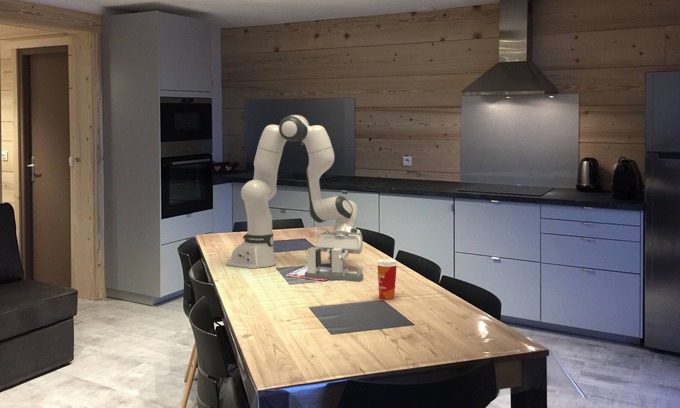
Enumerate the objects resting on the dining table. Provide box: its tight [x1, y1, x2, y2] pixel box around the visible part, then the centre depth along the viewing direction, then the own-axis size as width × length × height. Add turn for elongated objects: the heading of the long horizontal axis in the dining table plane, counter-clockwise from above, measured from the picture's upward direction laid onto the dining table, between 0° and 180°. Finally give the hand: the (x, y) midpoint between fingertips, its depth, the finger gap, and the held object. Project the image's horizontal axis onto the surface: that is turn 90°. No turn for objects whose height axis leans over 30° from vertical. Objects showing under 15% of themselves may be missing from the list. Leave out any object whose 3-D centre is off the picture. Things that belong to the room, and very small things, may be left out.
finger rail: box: [304, 246, 364, 282], centre depth 278 cm, size 24×5×12 cm, turn 73°
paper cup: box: [376, 258, 398, 301], centre depth 247 cm, size 8×8×14 cm
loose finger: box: [329, 248, 344, 273], centre depth 289 cm, size 4×5×10 cm
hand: (335, 259), depth 288 cm, fingers closed on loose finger, 4 cm apart
